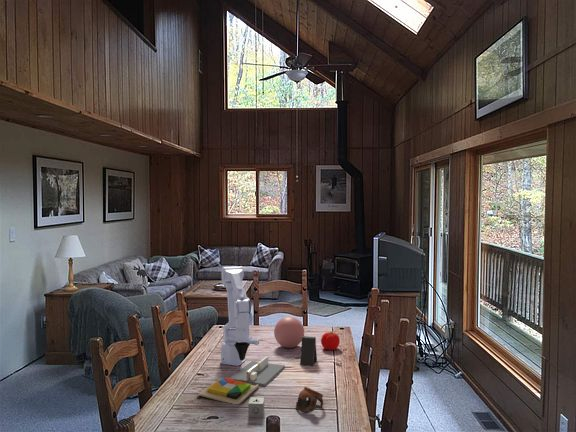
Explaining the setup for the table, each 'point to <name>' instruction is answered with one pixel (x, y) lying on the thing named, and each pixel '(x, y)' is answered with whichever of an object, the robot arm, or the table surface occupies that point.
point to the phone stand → (308, 351)
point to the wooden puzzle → (228, 390)
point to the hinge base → (259, 372)
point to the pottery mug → (311, 401)
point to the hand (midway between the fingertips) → (242, 359)
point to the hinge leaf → (252, 370)
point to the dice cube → (256, 407)
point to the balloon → (289, 332)
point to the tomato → (330, 341)
